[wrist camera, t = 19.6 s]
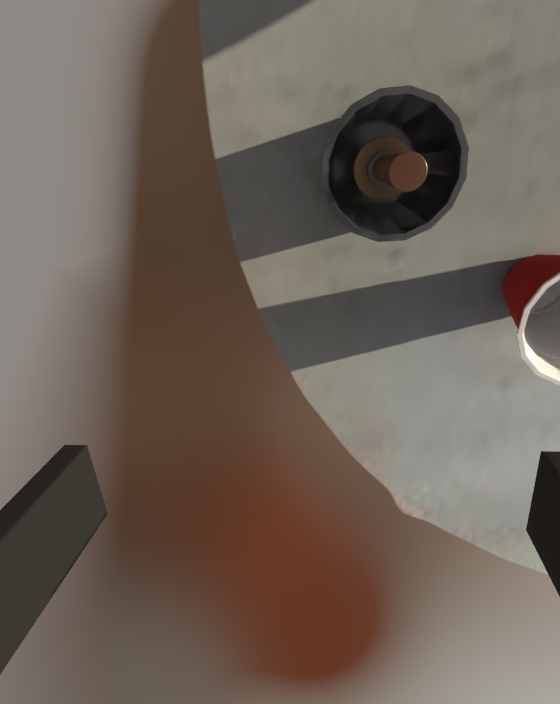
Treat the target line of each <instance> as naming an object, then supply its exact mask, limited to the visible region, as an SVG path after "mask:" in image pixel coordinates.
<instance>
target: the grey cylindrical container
mask: <svg viewBox="0 0 560 704" xmlns="http://www.w3.org/2000/svg"><path fill="white" fill-rule="evenodd" d="M381 136H392V137H396V138H398V139H400V140H402V141H403V142H404V143H405V144H406V145H407V146H408V147H409V149H410V151H412V152H416V153H419V154H420V155H421V156H422V157H423V158H424V159H425V161H426V163H427V176H426V178H425V180H424V182H423V183H422V184H421V186H419V187H418V188H417V189H415V190H413V191H409V192H403V191H402V192H401V193H399V194H398V195H396V196H394V197H392V198H389V199H384V200H378V199H373V198H370V197H368V196H367V195H365V194H364V193H363V192H362V191H361V190H360V189H359V187H358V186H357V184H356V182H355V180H354V177H353V163H354V160H355V157H356V155H357V153H358V152H359V150H360V149H361V148H362V147H363V146H364V145H365V144H366V143H368V142H369V141H371V140H372V139H375V138H377V137H381ZM468 151H469V147H468V143H467V140H466V137H465V134H464V131H463V127H462V124H461V121H460V118H459V117H458V116H457V115H456V114H455V112H454V111H453V110H452V109H451V108H450V107H449V106H448V105H447V104H446V103H445V102H444V101H443V100H442V99H441V98H440V96H438V95H436V94H433V93H430V92H427V91H425V90H422V89H419V88H416V87H413V86H410V85H408V86H399V87H390V88H381V89H378V90H376V91H374V92H373V93H371V94H369V95H367V96H366V97H364V98H362V99H360V100H359V101H357V102H355V103H353V104H352V105H351V106H350V107H349V108H348V110H347V111H346V112H345V113H344V115H343V116H342V117H341V118H340V119H339V121H338V122H337V123H336V124H335V126H334V127H333V128H332V130H331V132H330V135H329V138H328V141H327V144H326V147H325V150H324V153H323V156H322V160H321V166H322V189H323V192H324V194H325V196H326V199H327V201H328V203H329V205H330V208H331V210H332V212H333V214H334V216H335V217H337V218H338V219H339V220H340V221H341V222H342V223H343V224H344V225H345V226H346V227H347V228H348V229H349V230H350V231H351V232H353V233H355V234H357V235H360V236H363V237H366V238H369V239H371V240H374V241H378V242H382V241H400V240H406V239H409V238H411V237H413V236H415V235H417V234H419V233H422V232H424V231H426V230H428V229H430V228H432V227H433V226H434V225H435V224H436V223H437V222H438V221H439V220H440V219H441V218H442V217H443V216H444V215H445V214H446V213H447V212H448V211H449V210H450V209H451V208H452V206H453V205H454V203H455V201H456V199H457V197H458V194H459V192H460V190H461V188H462V186H463V184H464V182H465V180H466V175H467V163H468Z"/></svg>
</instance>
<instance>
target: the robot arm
mask: <svg viewBox="0 0 560 704" xmlns="http://www.w3.org/2000/svg"><path fill="white" fill-rule="evenodd" d="M106 515H107V510H106V507H105V504H104V501H103V497H102V494H101V490H100V487H99V484H98V481H97V477H96V474H95V471H94V468H93V464H92V461H91V457H90V454H89V451H88V447H87V446H86V445H85V446H84V445H64V446H63V447H62V448H61V449H60V450H59V451H58V452H57V453H56V454H55V455H54V456H53V457H52V458H51V459H50V460H49V462H47V463H46V465H44V466H43V468H42V469H41V470H40V471H39V472H38V473H37V474H36V475H35V476H34V477H33V478H32V479H31V480H30V481H29V482H28V483H27V484H26V485H25V486H24V487H23V488H22V489H21V490H20V491H19V492H18V493H17V494H16V495H15V496H14V497H13V498H12V499H11V500H10V501H9V502H8V503H7V504H6V505H5V506H4V507H3V508H2V509H1V510H0V674H1V673H2V671H3V669H4V668H5V667H6V665H7V664H8V662H9V661H10V659H11V658H12V656H13V655H14V653H15V651H16V650H17V649H18V647H19V645H20V644H21V642H22V641H23V640H24V638H25V637H26V635H27V634H28V632H29V631H30V629H31V628H32V626H33V625H34V623H35V622H36V620H37V619H38V617H39V616H40V614H41V613H42V611H43V609H44V608H45V607H46V605H47V604H48V602H49V601H50V599H51V598H52V596H53V594H54V593H55V591H56V590H57V589H58V587H59V585H60V584H61V583H62V581H63V580H64V578H65V577H66V575H67V574H68V572H69V571H70V569H71V568H72V566H73V564H74V563H75V562H76V560H77V559H78V557H79V556H80V554H81V553H82V551H83V550H84V548H85V547H86V545H87V544H88V542H89V541H90V539H91V538H92V536H93V535H94V533H95V532H96V530H97V529H98V527H99V526H100V524H101V523H102V521H103V520H104V518H105V517H106ZM526 530H527V532H528V534H529V536H530V538H531V540H532V542H533V544H534V546H535V548H536V550H537V552H538V554H539V556H540V558H541V560H542V562H543V564H544V566H545V568H546V570H547V572H548V574H549V576H550V578H551V580H552V582H553V584H554V586H555V588H556V590H557V592H558V594H559V596H560V452H543V451H541V455H540V460H539V465H538V471H537V476H536V481H535V486H534V492H533V497H532V502H531V507H530V513H529V518H528V523H527V528H526Z"/></svg>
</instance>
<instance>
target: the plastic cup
mask: <svg viewBox="0 0 560 704" xmlns="http://www.w3.org/2000/svg"><path fill="white" fill-rule="evenodd" d="M503 292H504V297H505V301H506V303H507V305H508V307H509V310H510V313H511V315H512V317H513V319H514V322H515V324H516V326H517V328H518V331H517V335H518V340H519V346H520V351H521V357H522V359H523V360H524V361H525V362H526V363H527V365H528V366H529V367H530V368H531V369H532V371H533V372H534V373H535V374H536V375H537V376H539V377H542V378H544V379H546V380H548V381H551V382H553V383H555V384H557V385H560V255H535V256H532V257H528V258H525V259H523V260H521V261H520V262H518V263H517V264H516V265H514V266H513V267H512V268H511V270H510V271H509V273H508V274H507V276H506V277H505V282H504V286H503Z"/></svg>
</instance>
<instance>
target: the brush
mask: <svg viewBox="0 0 560 704" xmlns="http://www.w3.org/2000/svg"><path fill="white" fill-rule="evenodd" d="M426 176H427V163H426V161H425V159H424V158H423V157H422V156H421V155H420V154H419V153H416V152H412V151H410V149H409V147H408V146H407V145H406V144H405V143H404V142H403V141H402V140H400V139H398V138H396V137H392V136H381V137H377V138H375V139H372V140H371V141H369V142H368V143H366V144H365V145H364V146H363V147H362V148H361V149H360V150H359V152H358V153H357V155H356V157H355V160H354V163H353V177H354V180H355V182H356V184H357V186H358V187H359V189H360V190H361V191H362V192H363V193H364V194H365V195H367V196H368V197H370V198H373V199H378V200H384V199H389V198H392V197H394V196H396V195H398V194H399V193H401V192H402V191H403V192H409V191H413V190H415V189H417V188H418V187H419V186H421V184H422V183H423V182H424V180H425V178H426Z"/></svg>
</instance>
